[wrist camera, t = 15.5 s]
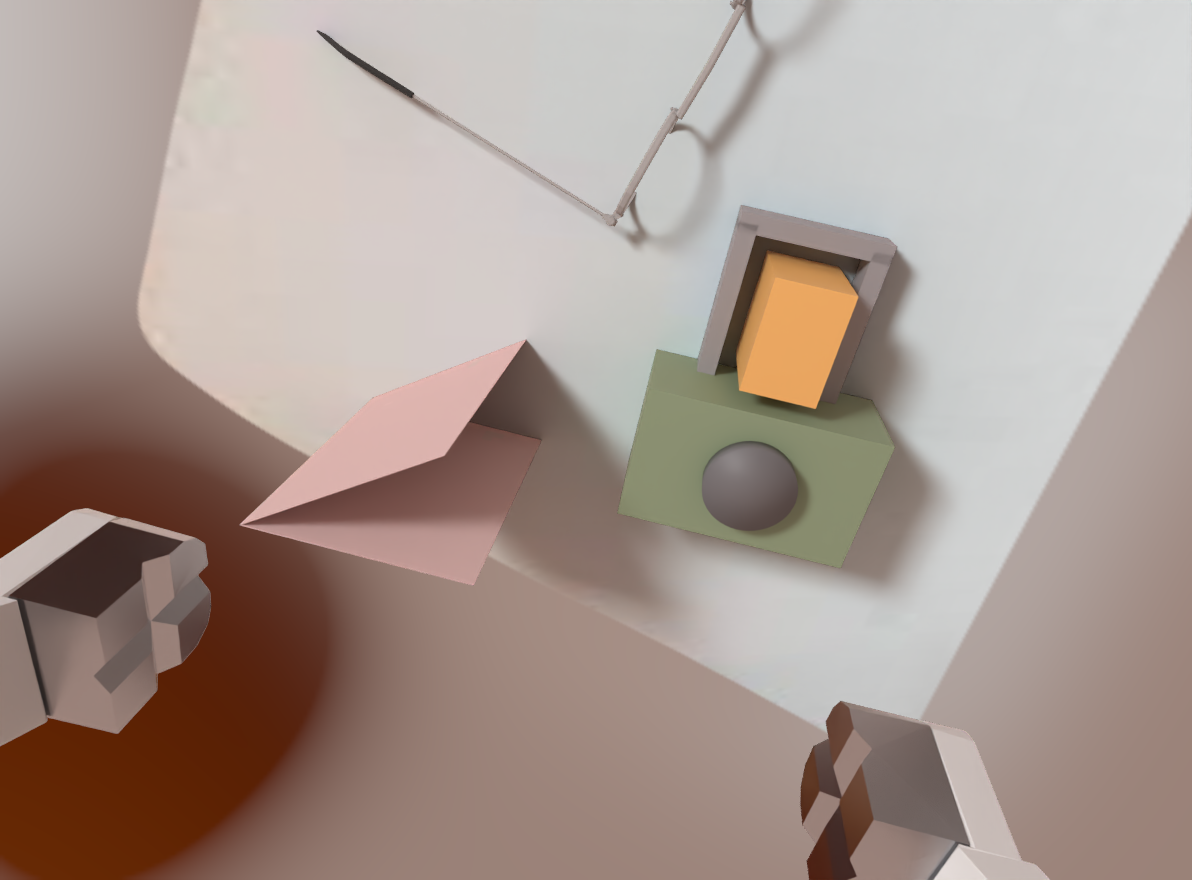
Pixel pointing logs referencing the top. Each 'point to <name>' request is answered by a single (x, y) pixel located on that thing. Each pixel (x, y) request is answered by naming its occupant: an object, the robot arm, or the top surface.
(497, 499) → the greeting card
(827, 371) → the chute block
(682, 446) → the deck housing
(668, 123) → the eyeglasses
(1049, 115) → the top surface
